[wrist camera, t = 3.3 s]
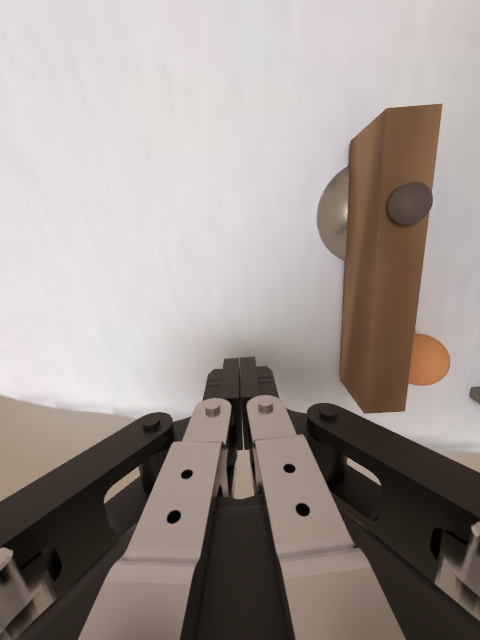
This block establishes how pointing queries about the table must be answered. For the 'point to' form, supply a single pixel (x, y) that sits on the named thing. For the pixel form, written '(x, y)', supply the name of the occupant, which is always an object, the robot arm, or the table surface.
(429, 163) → the lever
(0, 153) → the table surface
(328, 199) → the pin plate
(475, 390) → the pocket
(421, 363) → the ball
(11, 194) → the table surface
